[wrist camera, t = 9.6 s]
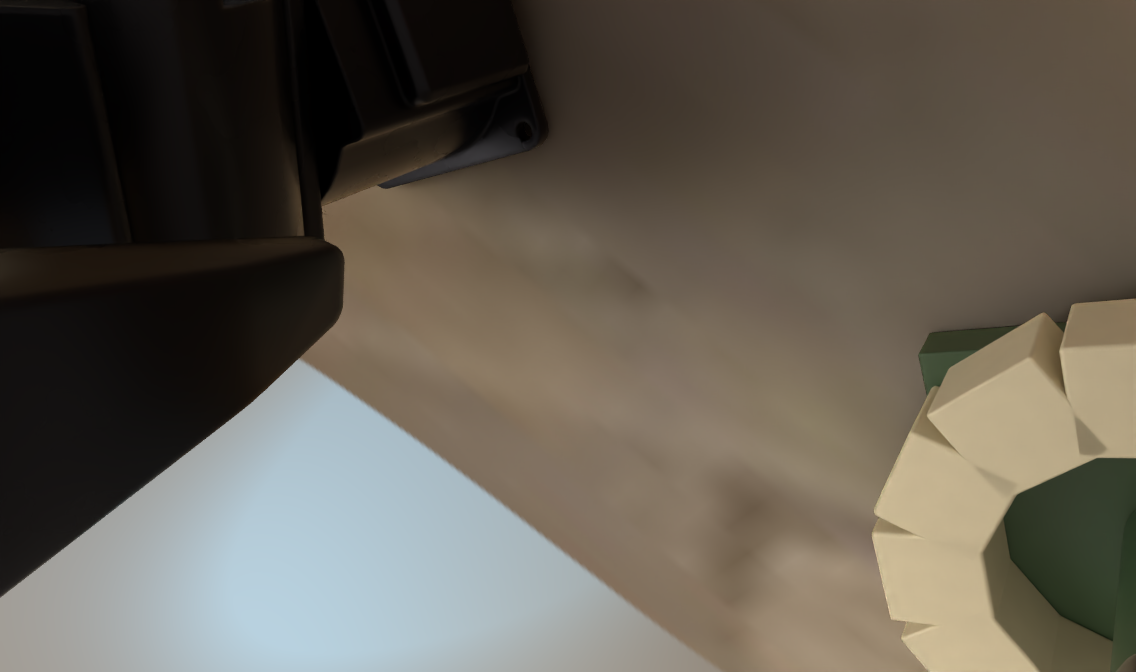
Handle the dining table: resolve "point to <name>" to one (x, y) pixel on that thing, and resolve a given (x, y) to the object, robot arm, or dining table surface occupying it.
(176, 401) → the robot arm
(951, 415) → the ring
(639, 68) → the dining table surface
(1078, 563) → the peg stand
